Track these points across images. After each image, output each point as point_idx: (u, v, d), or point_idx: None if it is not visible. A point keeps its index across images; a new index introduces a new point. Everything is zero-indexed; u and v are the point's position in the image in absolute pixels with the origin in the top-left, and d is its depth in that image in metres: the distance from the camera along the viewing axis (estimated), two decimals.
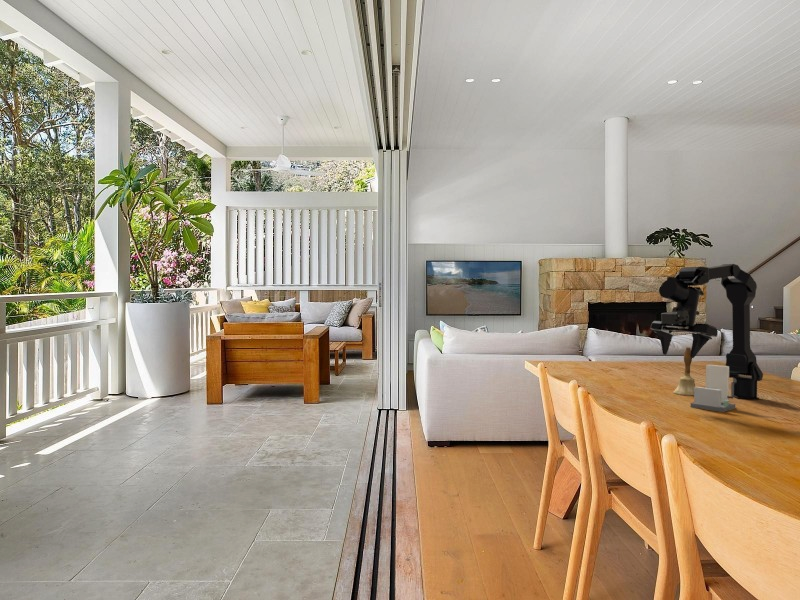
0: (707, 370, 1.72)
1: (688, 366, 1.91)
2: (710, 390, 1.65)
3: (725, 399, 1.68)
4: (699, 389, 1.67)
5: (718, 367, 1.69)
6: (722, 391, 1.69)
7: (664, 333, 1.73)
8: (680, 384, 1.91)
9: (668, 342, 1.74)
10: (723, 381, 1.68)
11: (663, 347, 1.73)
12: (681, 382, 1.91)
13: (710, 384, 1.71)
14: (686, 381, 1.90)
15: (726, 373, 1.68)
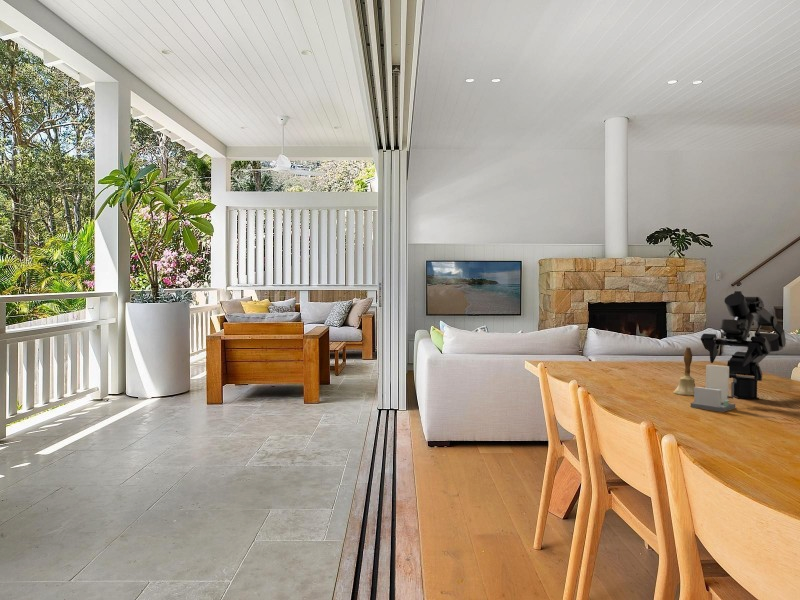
0: (707, 370, 1.72)
1: (688, 366, 1.91)
2: (710, 390, 1.65)
3: (725, 399, 1.68)
4: (699, 389, 1.67)
5: (718, 367, 1.69)
6: (722, 391, 1.69)
7: (714, 344, 1.81)
8: (680, 384, 1.91)
9: (715, 354, 1.81)
10: (723, 381, 1.68)
11: (711, 355, 1.79)
12: (681, 382, 1.91)
13: (710, 384, 1.71)
14: (686, 381, 1.90)
15: (726, 373, 1.68)
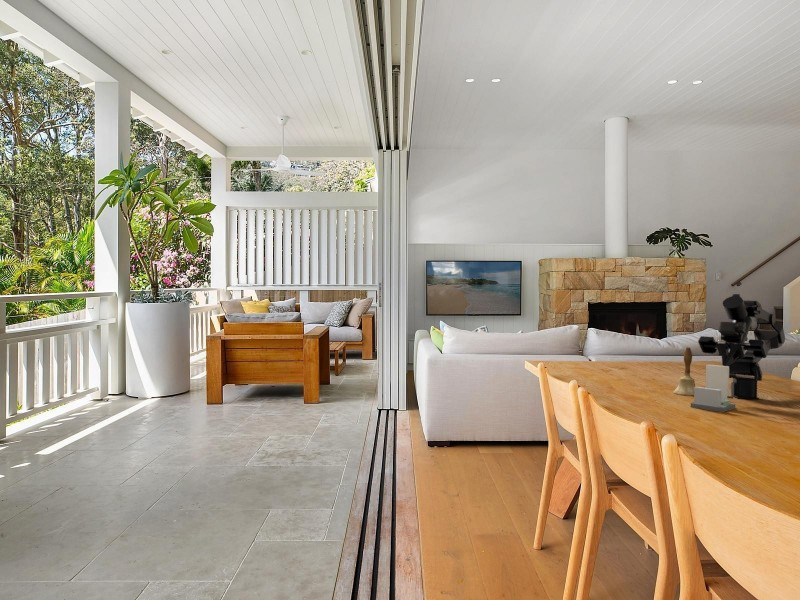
0: (707, 370, 1.72)
1: (688, 366, 1.91)
2: (710, 390, 1.65)
3: (725, 399, 1.68)
4: (699, 389, 1.67)
5: (718, 367, 1.69)
6: (722, 391, 1.69)
7: (726, 348, 1.77)
8: (680, 384, 1.91)
9: None
10: (723, 381, 1.68)
11: (724, 359, 1.75)
12: (681, 382, 1.91)
13: (710, 384, 1.71)
14: (686, 381, 1.90)
15: (726, 373, 1.68)
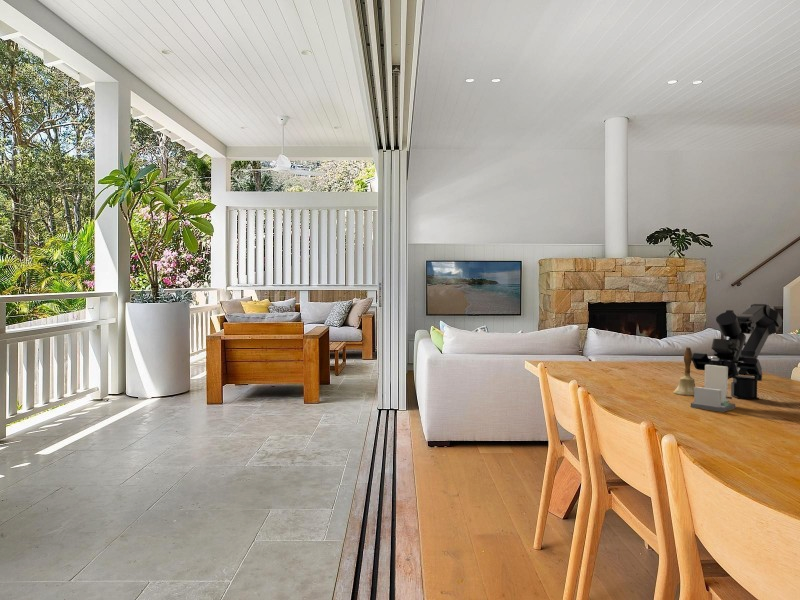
0: (706, 370, 1.71)
1: (688, 366, 1.91)
2: (710, 390, 1.65)
3: (724, 399, 1.67)
4: (699, 389, 1.67)
5: (717, 367, 1.69)
6: (721, 391, 1.68)
7: (720, 365, 1.73)
8: (680, 384, 1.91)
9: None
10: (722, 381, 1.68)
11: None
12: (681, 382, 1.91)
13: (709, 384, 1.70)
14: (686, 381, 1.90)
15: (725, 373, 1.67)
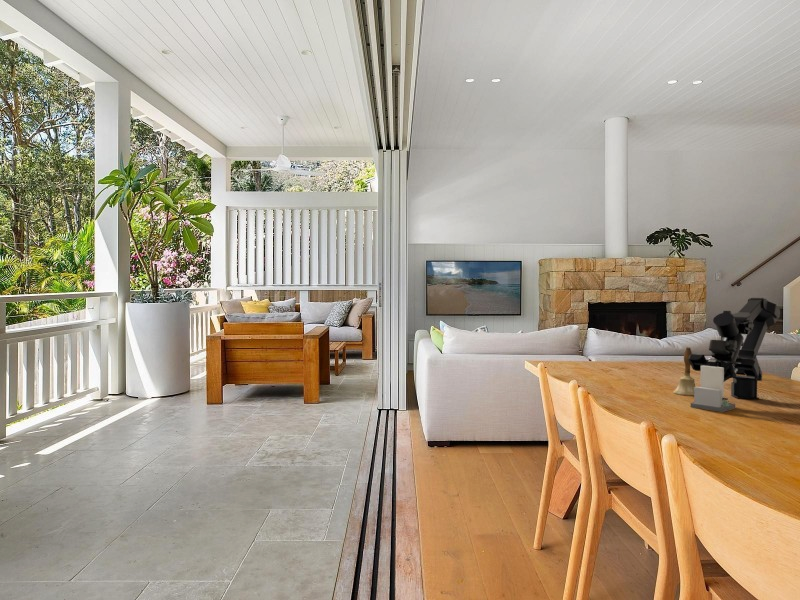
0: (702, 371, 1.69)
1: (688, 366, 1.91)
2: (710, 390, 1.65)
3: None
4: (699, 389, 1.67)
5: (713, 368, 1.67)
6: None
7: None
8: (680, 384, 1.91)
9: None
10: (718, 382, 1.66)
11: None
12: (681, 382, 1.91)
13: (705, 385, 1.69)
14: (686, 381, 1.90)
15: (721, 374, 1.65)
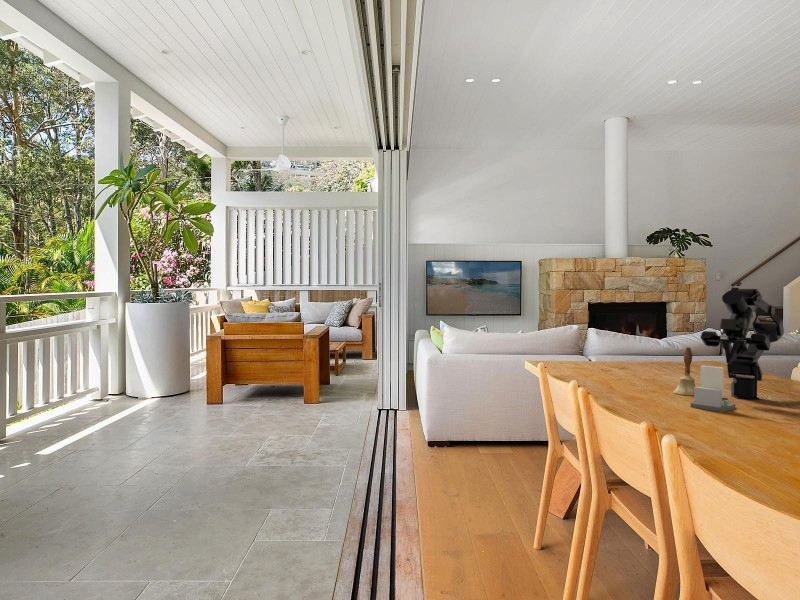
0: (702, 371, 1.69)
1: (688, 366, 1.91)
2: (710, 390, 1.65)
3: None
4: (699, 389, 1.67)
5: (713, 368, 1.67)
6: None
7: (729, 343, 1.78)
8: (680, 384, 1.91)
9: None
10: (718, 382, 1.66)
11: (727, 356, 1.76)
12: (681, 382, 1.91)
13: (705, 385, 1.69)
14: (686, 381, 1.90)
15: (721, 374, 1.65)
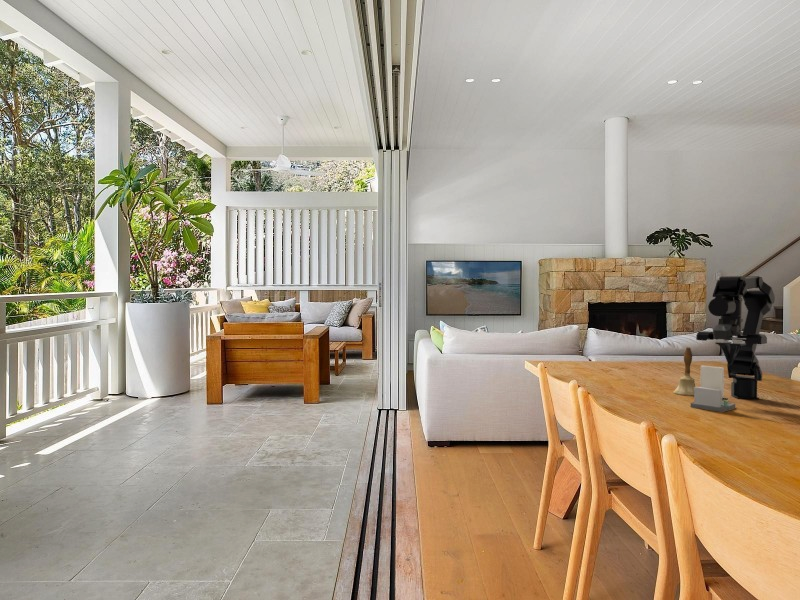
0: (702, 371, 1.69)
1: (688, 366, 1.91)
2: (710, 390, 1.65)
3: None
4: (699, 389, 1.67)
5: (713, 368, 1.67)
6: None
7: (726, 344, 1.76)
8: (680, 384, 1.91)
9: (730, 351, 1.78)
10: (718, 382, 1.66)
11: (727, 358, 1.76)
12: (681, 382, 1.91)
13: (705, 385, 1.69)
14: (686, 381, 1.90)
15: (721, 374, 1.65)
